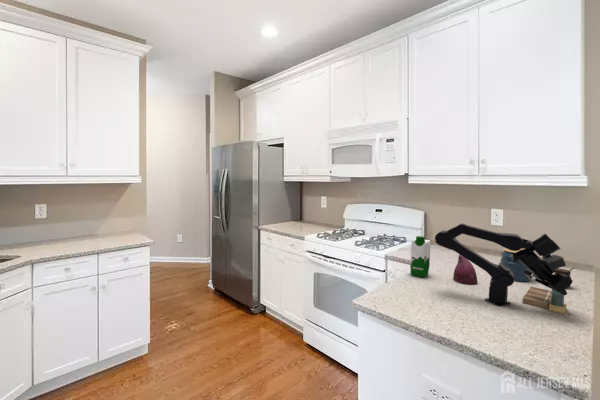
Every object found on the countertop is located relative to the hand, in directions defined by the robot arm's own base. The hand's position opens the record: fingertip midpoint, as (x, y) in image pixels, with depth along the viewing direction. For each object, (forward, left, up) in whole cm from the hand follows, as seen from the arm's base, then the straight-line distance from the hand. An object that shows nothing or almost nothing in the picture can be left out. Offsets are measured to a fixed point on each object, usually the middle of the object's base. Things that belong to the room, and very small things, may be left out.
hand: (562, 292), depth 118 cm
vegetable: (-7, +37, -7) cm, 38 cm away
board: (+3, +10, -7) cm, 12 cm away
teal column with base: (-1, +1, -7) cm, 7 cm away
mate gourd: (+31, +17, -7) cm, 36 cm away
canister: (+22, +33, -7) cm, 40 cm away
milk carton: (-21, +51, -7) cm, 56 cm away
